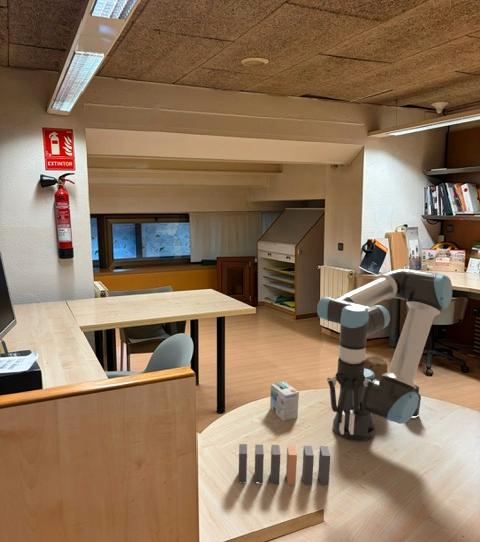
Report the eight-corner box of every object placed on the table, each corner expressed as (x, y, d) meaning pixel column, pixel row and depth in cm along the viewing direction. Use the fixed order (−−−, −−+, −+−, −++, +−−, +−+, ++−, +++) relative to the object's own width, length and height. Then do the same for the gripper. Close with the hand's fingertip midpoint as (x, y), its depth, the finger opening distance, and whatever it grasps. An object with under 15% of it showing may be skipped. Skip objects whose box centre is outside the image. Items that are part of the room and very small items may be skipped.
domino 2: (262, 473, 143) (263, 444, 141) (262, 483, 138) (263, 454, 136) (254, 473, 143) (255, 444, 141) (254, 483, 138) (255, 454, 136)
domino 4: (293, 473, 143) (295, 445, 141) (295, 484, 138) (296, 455, 136) (286, 473, 143) (287, 445, 141) (287, 484, 138) (288, 454, 136)
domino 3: (278, 473, 143) (279, 445, 141) (279, 484, 138) (280, 454, 136) (270, 473, 143) (271, 444, 141) (271, 483, 138) (272, 454, 136)
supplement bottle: (416, 420, 176) (419, 392, 173) (398, 415, 179) (401, 387, 177) (420, 413, 182) (423, 385, 179) (402, 408, 185) (405, 381, 183)
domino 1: (246, 472, 143) (247, 444, 141) (246, 483, 138) (247, 453, 136) (238, 472, 143) (239, 444, 141) (238, 483, 138) (239, 453, 136)
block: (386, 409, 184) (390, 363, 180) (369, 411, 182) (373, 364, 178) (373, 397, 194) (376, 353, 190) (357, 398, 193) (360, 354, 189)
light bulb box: (269, 408, 183) (270, 383, 181) (283, 405, 186) (284, 380, 184) (283, 421, 174) (284, 395, 172) (298, 417, 177) (299, 392, 175)
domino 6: (325, 474, 143) (327, 446, 141) (328, 485, 138) (330, 455, 136) (318, 474, 143) (319, 445, 141) (320, 485, 138) (322, 455, 136)
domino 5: (309, 474, 143) (311, 445, 141) (312, 484, 138) (313, 455, 136) (302, 474, 143) (303, 445, 141) (304, 484, 138) (305, 455, 136)
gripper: (374, 354, 136) (368, 425, 141) (323, 353, 136) (318, 424, 141) (381, 364, 129) (374, 439, 134) (327, 363, 129) (323, 438, 134)
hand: (346, 431), depth 137 cm, fingers open, 2 cm apart
